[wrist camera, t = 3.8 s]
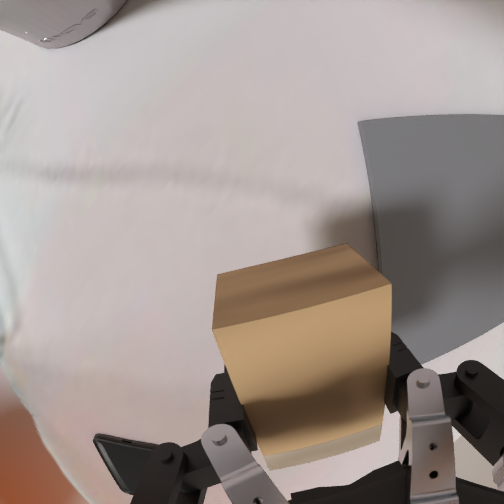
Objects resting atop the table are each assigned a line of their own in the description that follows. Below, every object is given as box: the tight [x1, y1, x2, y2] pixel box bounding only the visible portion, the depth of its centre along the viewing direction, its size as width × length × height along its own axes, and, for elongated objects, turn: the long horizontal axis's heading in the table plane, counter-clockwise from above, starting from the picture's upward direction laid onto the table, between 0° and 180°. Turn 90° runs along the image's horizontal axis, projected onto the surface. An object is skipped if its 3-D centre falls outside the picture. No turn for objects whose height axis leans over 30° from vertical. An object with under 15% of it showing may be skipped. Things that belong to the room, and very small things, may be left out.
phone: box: [93, 433, 157, 495], centre depth 26 cm, size 8×1×15 cm
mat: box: [358, 114, 504, 364], centre depth 19 cm, size 20×16×1 cm
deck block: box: [212, 243, 392, 470], centre depth 12 cm, size 9×6×4 cm, turn 13°
